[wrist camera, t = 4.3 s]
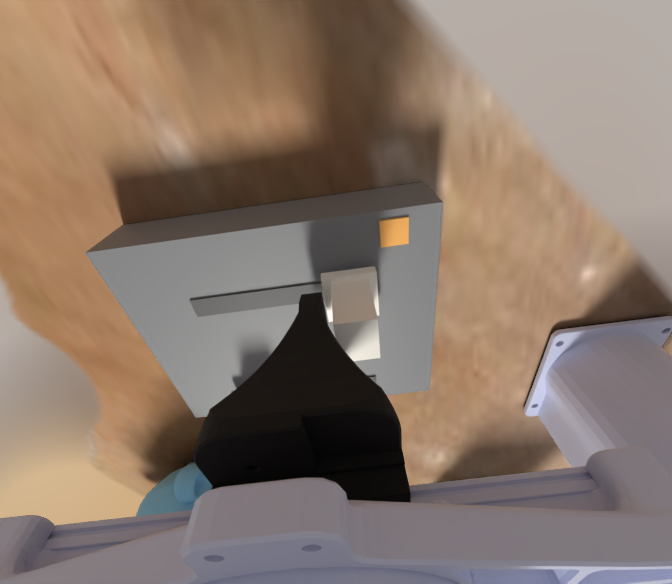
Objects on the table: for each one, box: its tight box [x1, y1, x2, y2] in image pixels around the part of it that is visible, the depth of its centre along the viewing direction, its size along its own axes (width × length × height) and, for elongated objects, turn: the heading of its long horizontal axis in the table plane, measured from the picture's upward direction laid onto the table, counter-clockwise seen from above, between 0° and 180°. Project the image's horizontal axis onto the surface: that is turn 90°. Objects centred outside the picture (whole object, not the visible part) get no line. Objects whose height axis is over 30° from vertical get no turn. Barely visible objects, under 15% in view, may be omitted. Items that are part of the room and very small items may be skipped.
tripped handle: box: [321, 266, 380, 361], centre depth 13 cm, size 2×2×3 cm
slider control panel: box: [86, 182, 443, 418], centre depth 17 cm, size 12×15×3 cm
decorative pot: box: [136, 462, 212, 516], centre depth 25 cm, size 16×16×14 cm
